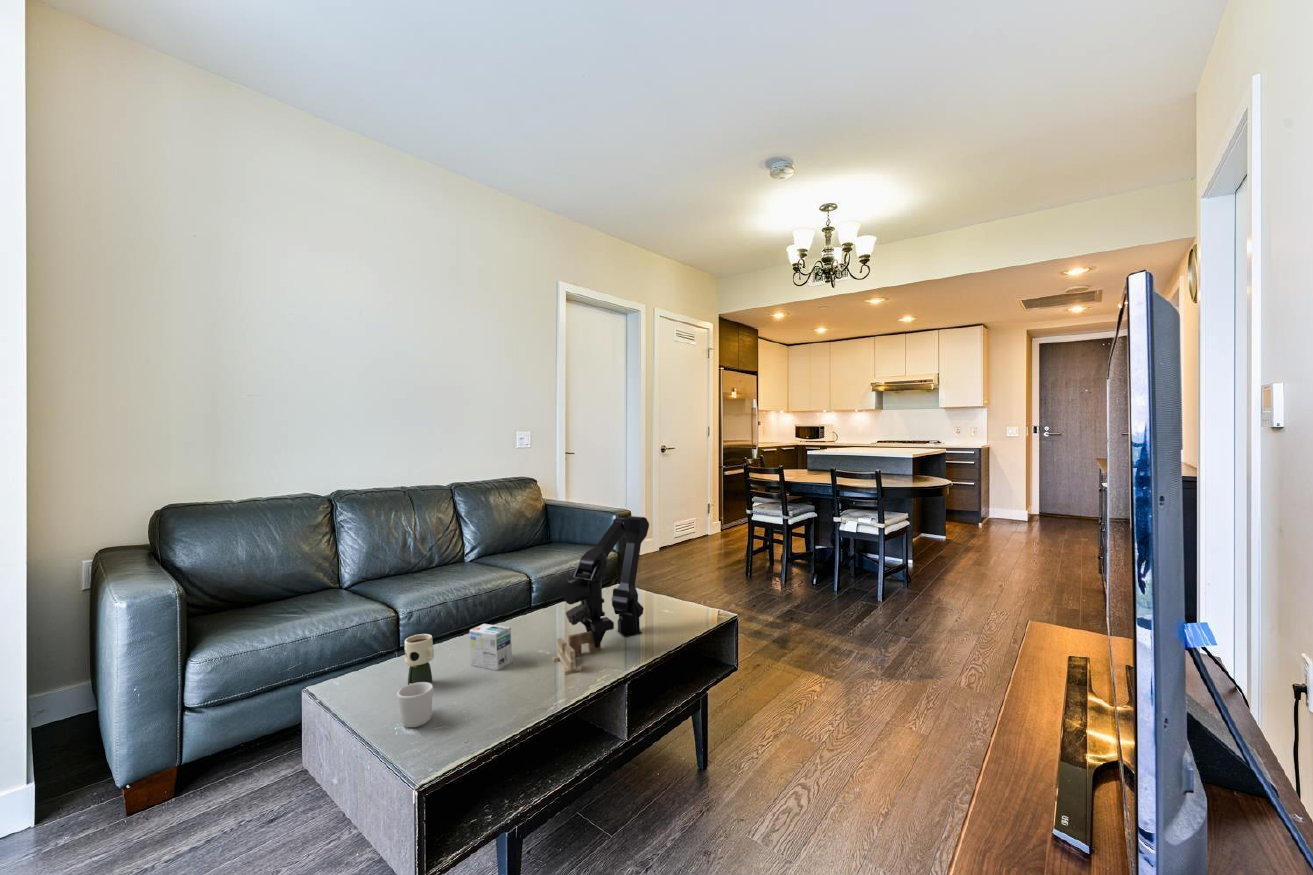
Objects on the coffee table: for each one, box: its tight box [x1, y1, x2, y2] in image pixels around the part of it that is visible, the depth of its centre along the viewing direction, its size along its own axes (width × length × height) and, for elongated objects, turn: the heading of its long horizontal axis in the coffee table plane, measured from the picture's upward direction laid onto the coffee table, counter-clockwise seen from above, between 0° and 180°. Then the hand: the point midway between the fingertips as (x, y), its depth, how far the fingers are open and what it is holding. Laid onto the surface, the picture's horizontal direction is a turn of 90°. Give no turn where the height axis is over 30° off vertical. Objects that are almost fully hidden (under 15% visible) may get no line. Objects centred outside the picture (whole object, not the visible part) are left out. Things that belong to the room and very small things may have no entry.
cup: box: [396, 682, 434, 728], centre depth 133 cm, size 11×8×8 cm
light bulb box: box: [469, 623, 513, 671], centre depth 165 cm, size 11×7×11 cm, turn 65°
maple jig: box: [551, 637, 582, 675], centre depth 162 cm, size 5×12×6 cm, turn 28°
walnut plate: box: [567, 631, 602, 657], centre depth 171 cm, size 10×1×6 cm, turn 118°
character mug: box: [404, 633, 435, 685], centre depth 152 cm, size 11×7×13 cm, turn 63°
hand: (594, 645), depth 173 cm, fingers open, 4 cm apart
